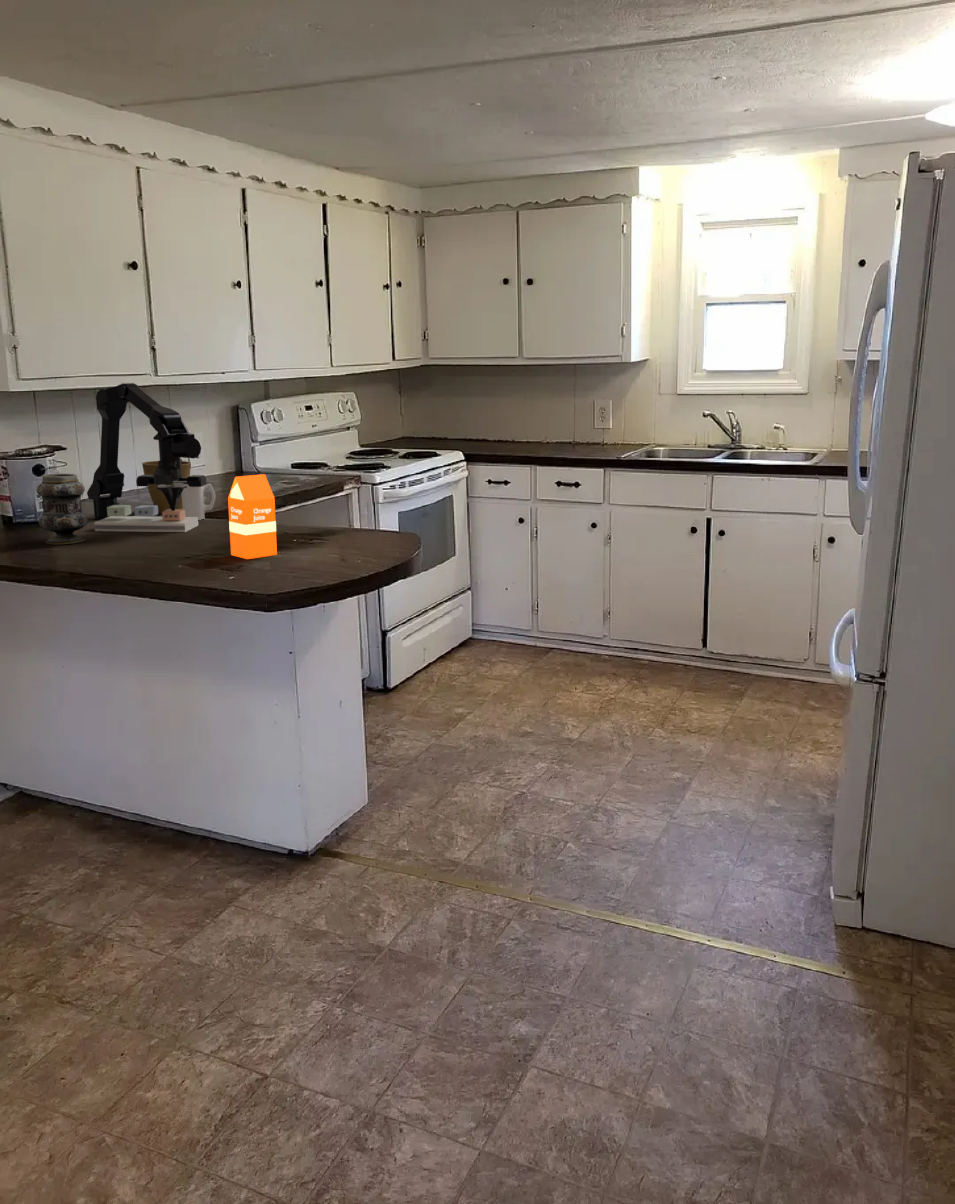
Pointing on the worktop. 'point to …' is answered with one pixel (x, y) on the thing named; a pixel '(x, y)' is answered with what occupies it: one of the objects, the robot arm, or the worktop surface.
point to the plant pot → (155, 493)
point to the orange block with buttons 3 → (174, 514)
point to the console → (145, 524)
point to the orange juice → (252, 517)
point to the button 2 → (146, 510)
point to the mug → (196, 501)
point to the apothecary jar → (62, 507)
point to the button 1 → (119, 510)
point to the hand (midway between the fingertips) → (173, 510)
